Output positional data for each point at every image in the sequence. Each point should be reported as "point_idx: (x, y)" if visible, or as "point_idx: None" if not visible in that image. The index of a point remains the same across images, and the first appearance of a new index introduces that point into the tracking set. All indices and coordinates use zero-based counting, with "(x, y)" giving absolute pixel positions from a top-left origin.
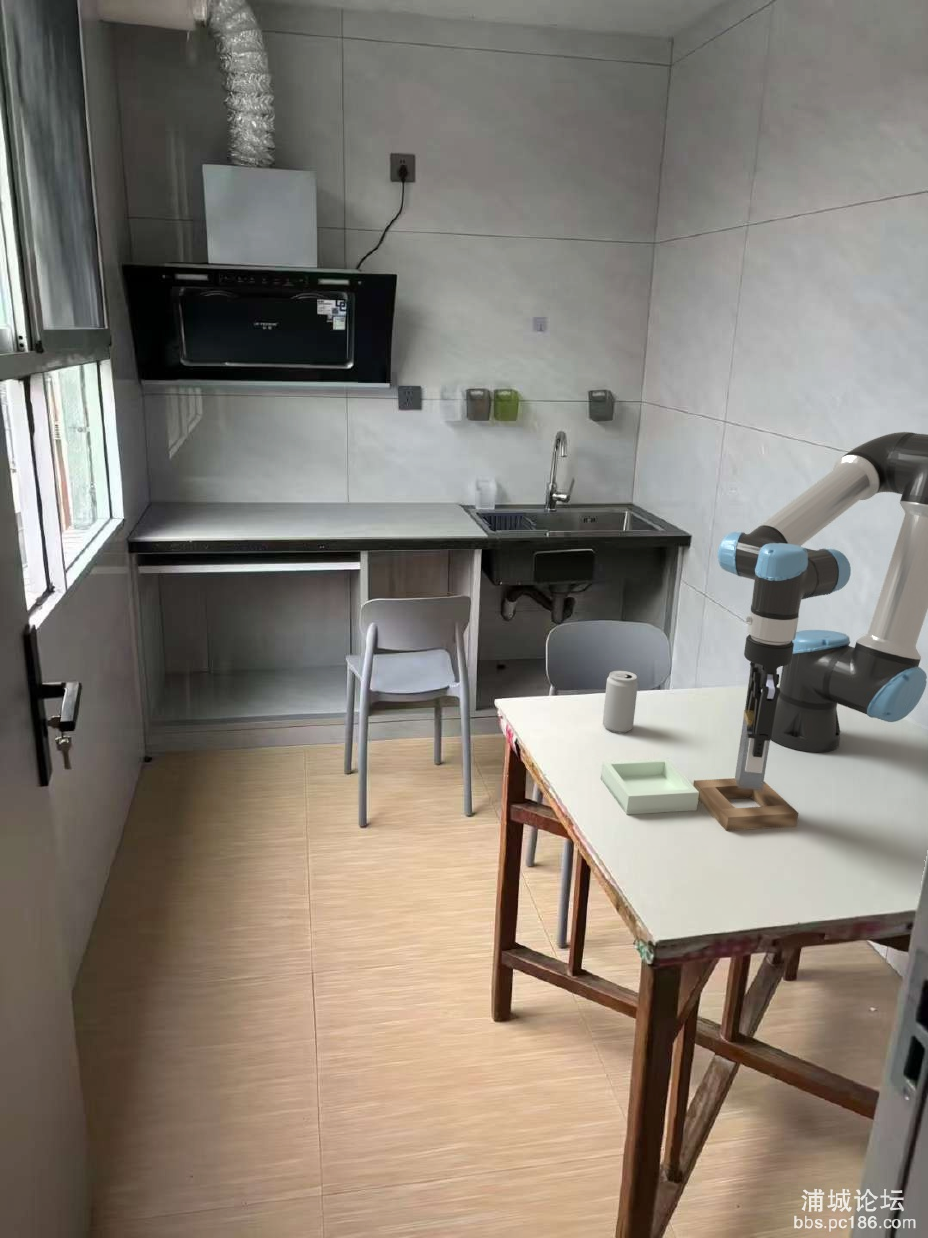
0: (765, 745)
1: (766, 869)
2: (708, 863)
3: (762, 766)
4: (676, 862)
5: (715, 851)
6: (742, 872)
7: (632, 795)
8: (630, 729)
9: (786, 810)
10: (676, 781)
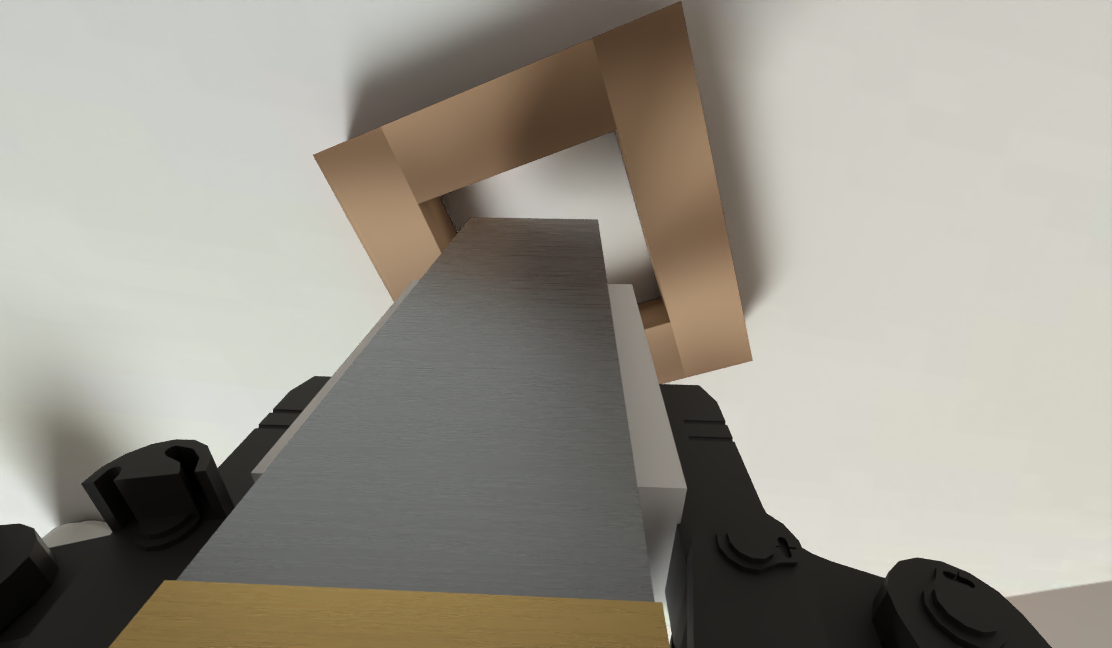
0: (666, 425)
1: (1018, 235)
2: (943, 412)
3: (636, 308)
4: (924, 488)
5: (872, 383)
6: (1019, 322)
7: (666, 617)
8: (110, 530)
9: (660, 74)
10: None
